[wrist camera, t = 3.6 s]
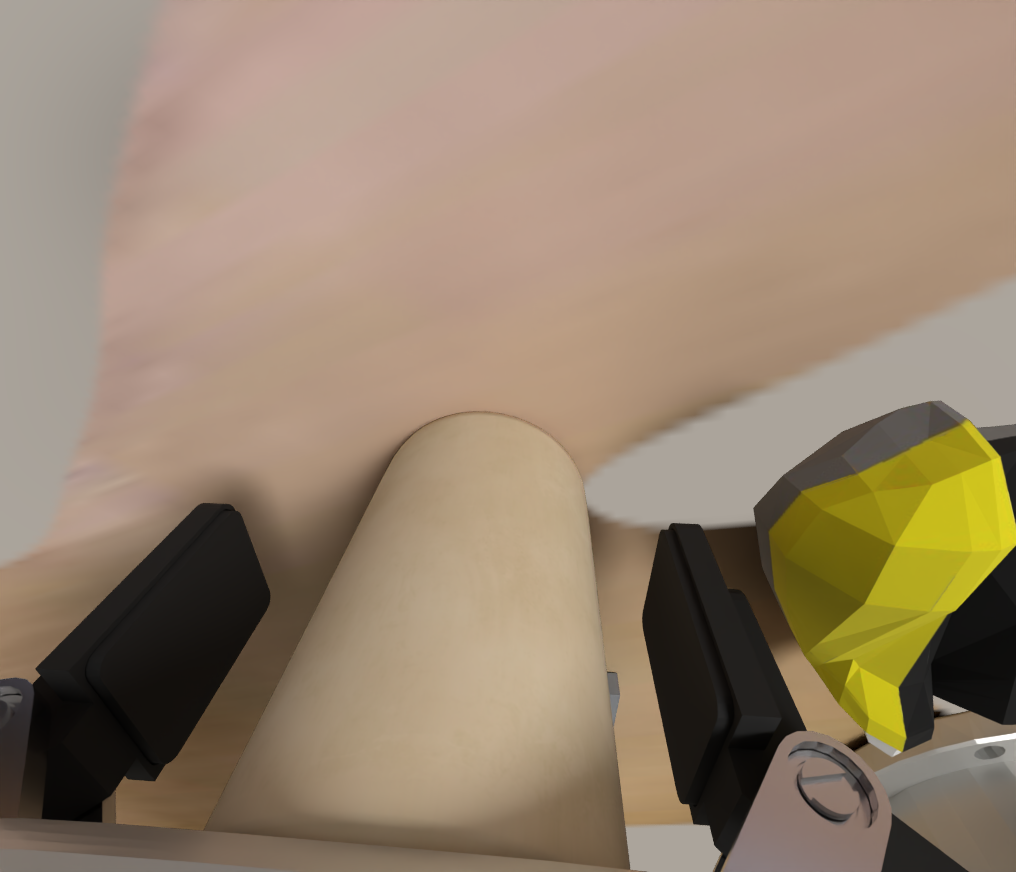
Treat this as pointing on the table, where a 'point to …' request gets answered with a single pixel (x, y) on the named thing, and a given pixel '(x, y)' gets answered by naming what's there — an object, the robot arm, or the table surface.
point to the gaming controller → (901, 568)
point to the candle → (450, 668)
